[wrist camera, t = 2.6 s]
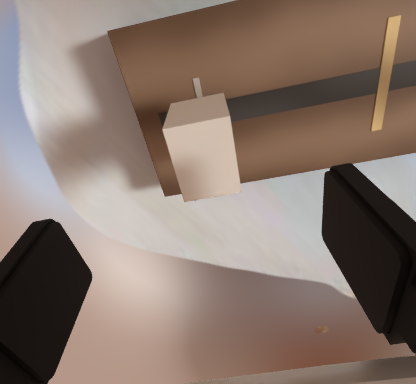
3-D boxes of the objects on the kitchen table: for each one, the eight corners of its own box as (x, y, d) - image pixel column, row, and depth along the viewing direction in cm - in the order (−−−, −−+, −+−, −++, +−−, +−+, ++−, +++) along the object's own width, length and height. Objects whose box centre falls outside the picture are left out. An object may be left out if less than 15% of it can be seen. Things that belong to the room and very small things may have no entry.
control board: (120, 28, 18) (107, 31, 16) (503, -63, 16) (560, -77, 13) (168, 178, 25) (164, 197, 22) (444, 127, 23) (475, 142, 20)
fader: (174, 92, 17) (162, 129, 12) (220, 82, 17) (229, 115, 11) (188, 148, 19) (184, 201, 14) (229, 140, 19) (241, 192, 14)
